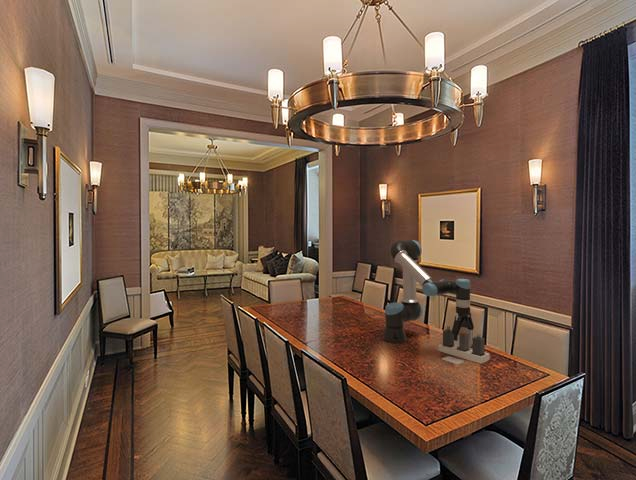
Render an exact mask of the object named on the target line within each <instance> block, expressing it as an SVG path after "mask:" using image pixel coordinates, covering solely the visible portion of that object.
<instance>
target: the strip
mask: <svg viewBox="0 0 636 480" xmlns="http://www.w3.org/2000/svg"><path fill="white" fill-rule="evenodd" d="M451 332H452V329H451V326H449V325H448V326H446V328H445V329H444V330H442V343H440V344H438V345H437V352H439V353H444V354H445V355H448V356H451V357H452V356H453V357H455V358H458V359H461V360H464V361H465V360H466V361H469V362H472V363H475V364H479V365H483V364H485V363H487V362H489V361H491V360H490V358H491V357H490V356H491V355H490V353H488V352H485V345H486V344H485V343H486V342H485V338H484V337H482V336H481V333H479V332H477V333H476V336H473V338H472V347H469V350H468V351H466V352H464V351H460V350H457V346H454V334H452V333H451Z"/></svg>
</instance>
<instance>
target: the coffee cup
mask: <svg viewBox="0 0 636 480" xmlns="http://www.w3.org/2000/svg"><path fill="white" fill-rule="evenodd" d="M471 326H472V325H471ZM466 329H467V327H466V325H465V323H463V325H462V326H461V329H460V331H459V333H461V330H465V334H466ZM472 338H474V329H473V330H472ZM469 348H472V341H469Z"/></svg>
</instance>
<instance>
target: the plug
mask: <svg viewBox="0 0 636 480" xmlns="http://www.w3.org/2000/svg"><path fill="white" fill-rule="evenodd" d="M458 335H459V347H457V350H460V351H464V352H466V351H468V350H469V348H470V347H469V334H465V330H461V333H459V334H458Z"/></svg>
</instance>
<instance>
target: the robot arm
mask: <svg viewBox="0 0 636 480" xmlns="http://www.w3.org/2000/svg"><path fill="white" fill-rule="evenodd" d="M422 251H423V250H422V246H421V244H420V243H419V241H417V240H413V239H412V240H411V239H407V240H395V241H393V242H392V243H391V244H390V247H389V255H390V257H391V259H392V260H393V261H394V262H395V263H397V264H399V265H400V266H401V267H402V288H403V290H402V293H403V294H402V299H400V302H397V301H396V302H390V303H387V304H386V305H385V310H384V313H385V316H384V317H385V318H384V319H385V322H384V324H385V328H384V331H383V334H382V340H383V341H384V342H387V343H390V344H391V343H392V344H401V343H405V342H406V341H407V334H406V332H405V329H404V327H405V326H404V323H407V322H412V321H413V322H414V321H416V320H419V319H420V318H422V316H423V312H424V311H423V306H422V304H421V303H420V302H419V301H420V300H419V299H418V298H417V283H418V284H419V285H420V286H421V289H422V292H423V293H422V294H423V295H424V296H426V297H436V296H439V295H445V294H446V295H448V294H450V295H455V305H456V307H455V312H456V314H457V315H456V316H454V321H453V325H452V329H451V330H452V332H451V333H452V334H454V346H457V347H459V335H458V334H459V331H460V329H461V326H462V325H463V323H465V325H466V327H467V329H466V334H469V341H472V330H473V331H474V330H475V329H474V328H475V325H474V323H473V318H472V313H471V287H472V286H471V281H470V279H467V278H457V279H456V280H455V281H454V280H449V279H440V280H439V281H436V280H434V279H433V278H432V277H431V275H429V274H428V273H427V272H426V271H425V270H424V269H423V268H422V267H421V266H420V265H419V264H418V263H417V262H418V261H419V257H420V256H421V255H422V253H423V252H422ZM471 325H472V326H471Z"/></svg>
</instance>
